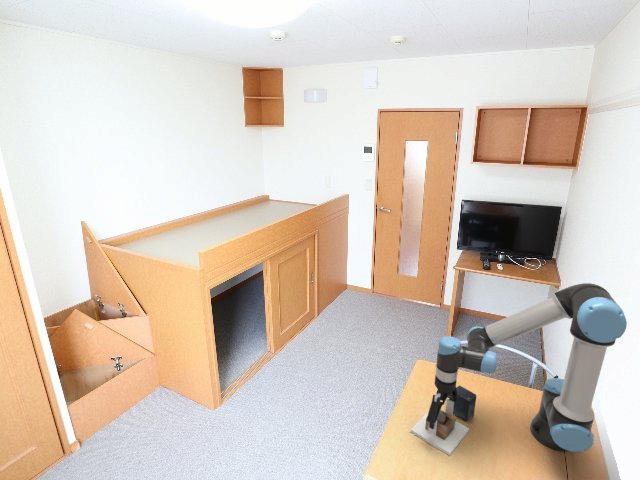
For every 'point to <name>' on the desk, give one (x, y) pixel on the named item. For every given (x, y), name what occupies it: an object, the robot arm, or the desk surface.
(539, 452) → the desk surface
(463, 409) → the box
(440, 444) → the thin white baseboard
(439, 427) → the collar
